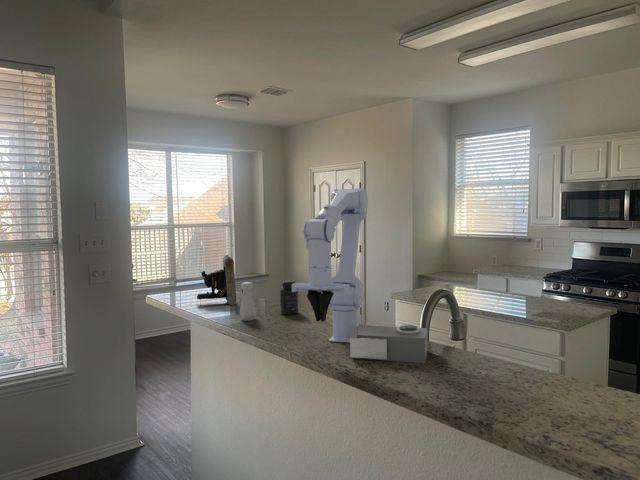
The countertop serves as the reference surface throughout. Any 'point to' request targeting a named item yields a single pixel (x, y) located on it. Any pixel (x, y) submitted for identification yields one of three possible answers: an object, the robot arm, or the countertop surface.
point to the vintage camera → (221, 282)
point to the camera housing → (399, 342)
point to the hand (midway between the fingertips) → (320, 320)
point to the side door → (367, 346)
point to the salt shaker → (247, 302)
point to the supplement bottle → (288, 299)
